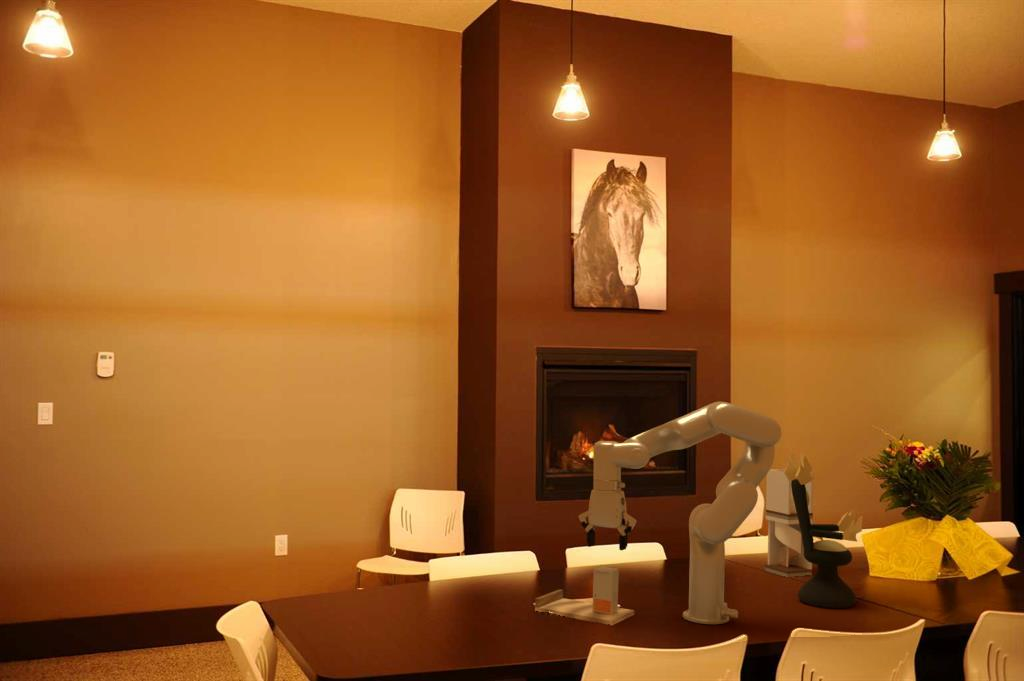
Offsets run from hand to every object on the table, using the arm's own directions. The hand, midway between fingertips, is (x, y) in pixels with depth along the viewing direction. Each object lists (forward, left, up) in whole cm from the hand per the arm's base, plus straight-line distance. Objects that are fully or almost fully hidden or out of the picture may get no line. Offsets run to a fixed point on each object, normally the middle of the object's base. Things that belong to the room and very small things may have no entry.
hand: (607, 547), depth 268 cm
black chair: (-45, -55, -19) cm, 73 cm away
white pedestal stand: (-25, -92, -19) cm, 97 cm away
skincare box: (0, 0, -18) cm, 18 cm away
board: (+6, 0, -19) cm, 20 cm away
